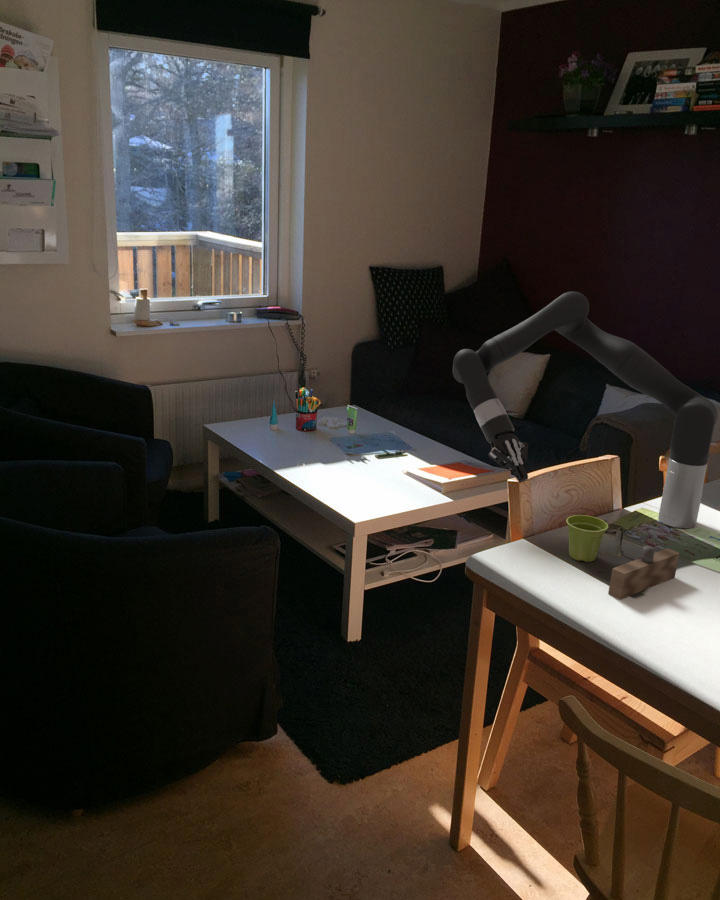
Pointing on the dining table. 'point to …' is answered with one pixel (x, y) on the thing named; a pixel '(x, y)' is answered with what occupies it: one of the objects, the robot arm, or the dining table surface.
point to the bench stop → (643, 572)
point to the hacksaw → (618, 542)
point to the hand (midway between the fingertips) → (523, 480)
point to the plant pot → (585, 536)
